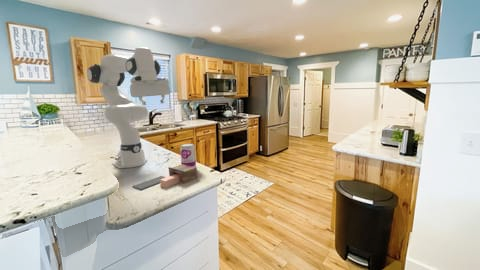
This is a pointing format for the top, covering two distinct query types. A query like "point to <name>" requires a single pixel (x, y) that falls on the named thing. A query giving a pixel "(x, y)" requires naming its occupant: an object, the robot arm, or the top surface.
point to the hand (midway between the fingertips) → (153, 104)
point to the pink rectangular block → (170, 180)
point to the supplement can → (188, 155)
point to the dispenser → (184, 172)
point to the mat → (148, 183)
